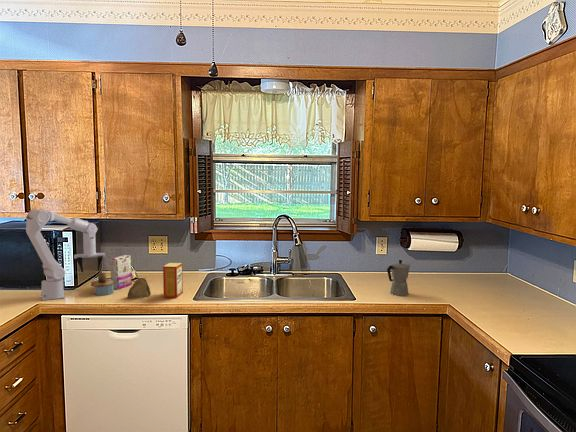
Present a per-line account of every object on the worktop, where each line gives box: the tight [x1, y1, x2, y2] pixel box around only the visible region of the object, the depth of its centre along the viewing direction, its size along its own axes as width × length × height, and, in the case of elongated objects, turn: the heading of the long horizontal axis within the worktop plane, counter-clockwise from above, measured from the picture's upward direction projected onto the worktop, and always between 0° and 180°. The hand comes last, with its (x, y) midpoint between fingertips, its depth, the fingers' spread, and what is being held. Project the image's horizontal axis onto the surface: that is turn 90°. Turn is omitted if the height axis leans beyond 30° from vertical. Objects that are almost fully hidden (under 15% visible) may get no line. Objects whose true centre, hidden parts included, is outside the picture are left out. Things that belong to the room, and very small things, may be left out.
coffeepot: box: [386, 259, 411, 297], centre depth 216 cm, size 15×9×18 cm, turn 119°
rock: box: [126, 277, 152, 299], centre depth 208 cm, size 11×9×10 cm
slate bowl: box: [94, 284, 115, 297], centre depth 212 cm, size 9×9×4 cm
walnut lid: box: [90, 272, 113, 288], centre depth 213 cm, size 10×10×6 cm
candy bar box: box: [109, 254, 133, 290], centre depth 225 cm, size 11×5×16 cm, turn 161°
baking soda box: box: [162, 262, 184, 299], centre depth 210 cm, size 10×6×16 cm
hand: (90, 271), depth 218 cm, fingers open, 7 cm apart
